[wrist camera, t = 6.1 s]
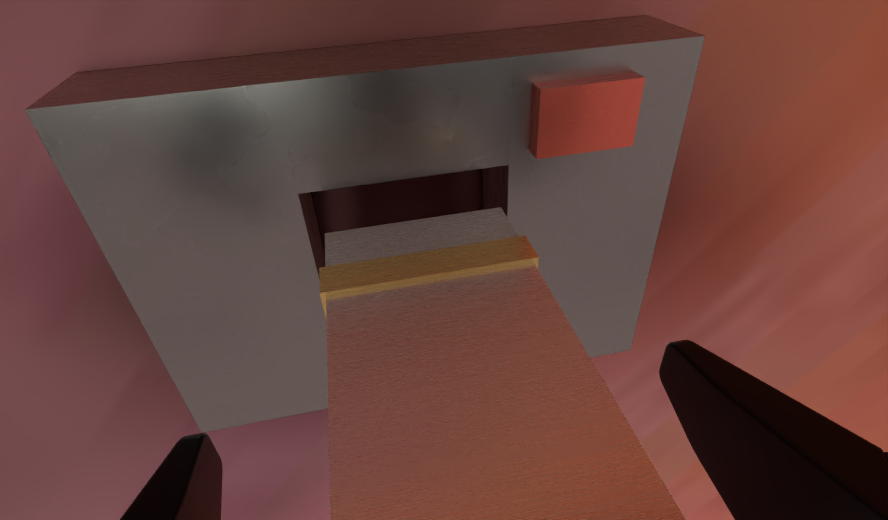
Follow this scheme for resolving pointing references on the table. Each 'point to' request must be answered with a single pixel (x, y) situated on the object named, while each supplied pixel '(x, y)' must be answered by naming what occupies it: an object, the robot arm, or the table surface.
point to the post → (467, 385)
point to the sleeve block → (364, 182)
